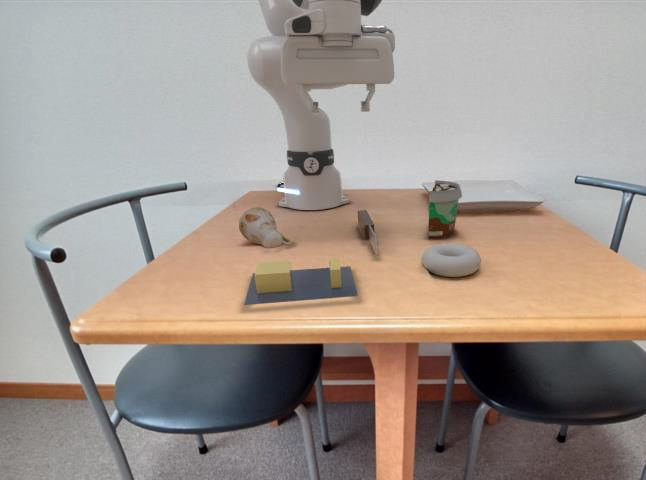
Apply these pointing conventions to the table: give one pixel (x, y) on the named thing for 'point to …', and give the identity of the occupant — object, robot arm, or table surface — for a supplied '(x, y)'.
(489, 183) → the square plate
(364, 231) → the knife
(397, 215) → the table surface
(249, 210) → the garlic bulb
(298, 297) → the butter dish
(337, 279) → the butter slice
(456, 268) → the donut
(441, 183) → the food container
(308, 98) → the robot arm
